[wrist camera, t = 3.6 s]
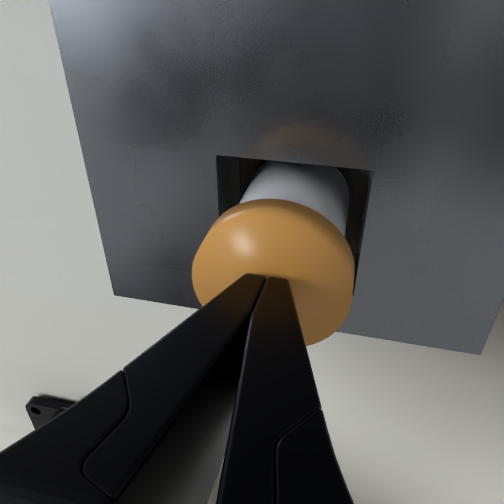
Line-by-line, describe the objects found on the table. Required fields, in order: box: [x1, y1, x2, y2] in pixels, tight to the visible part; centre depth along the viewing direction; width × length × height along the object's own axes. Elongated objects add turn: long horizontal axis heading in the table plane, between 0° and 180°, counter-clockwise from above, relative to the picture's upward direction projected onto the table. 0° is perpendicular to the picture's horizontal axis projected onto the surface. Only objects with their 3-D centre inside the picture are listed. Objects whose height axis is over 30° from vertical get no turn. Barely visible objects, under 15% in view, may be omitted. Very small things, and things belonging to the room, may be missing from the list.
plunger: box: [192, 160, 355, 346], centre depth 11 cm, size 3×3×4 cm
